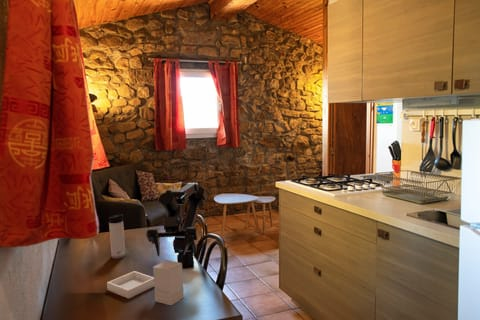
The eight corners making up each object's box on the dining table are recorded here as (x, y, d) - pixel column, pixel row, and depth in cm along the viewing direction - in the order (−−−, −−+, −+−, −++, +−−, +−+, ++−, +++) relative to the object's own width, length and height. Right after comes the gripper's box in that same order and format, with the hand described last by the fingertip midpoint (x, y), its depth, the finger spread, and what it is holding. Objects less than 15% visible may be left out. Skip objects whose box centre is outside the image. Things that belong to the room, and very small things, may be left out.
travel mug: (121, 259, 173) (118, 216, 171) (108, 258, 175) (105, 216, 173) (128, 254, 180) (125, 213, 177) (115, 253, 181) (112, 212, 179)
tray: (134, 278, 152) (134, 270, 151) (155, 285, 144) (155, 277, 144) (107, 290, 142) (106, 282, 141) (128, 298, 134) (127, 290, 134)
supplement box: (184, 297, 134) (182, 262, 133) (170, 306, 128) (168, 270, 126) (168, 292, 138) (166, 259, 136) (154, 301, 131) (152, 266, 130)
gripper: (145, 208, 142) (140, 246, 132) (195, 206, 142) (194, 244, 132) (151, 223, 150) (146, 260, 140) (198, 221, 151) (197, 258, 141)
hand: (170, 255), depth 138 cm, fingers open, 9 cm apart
